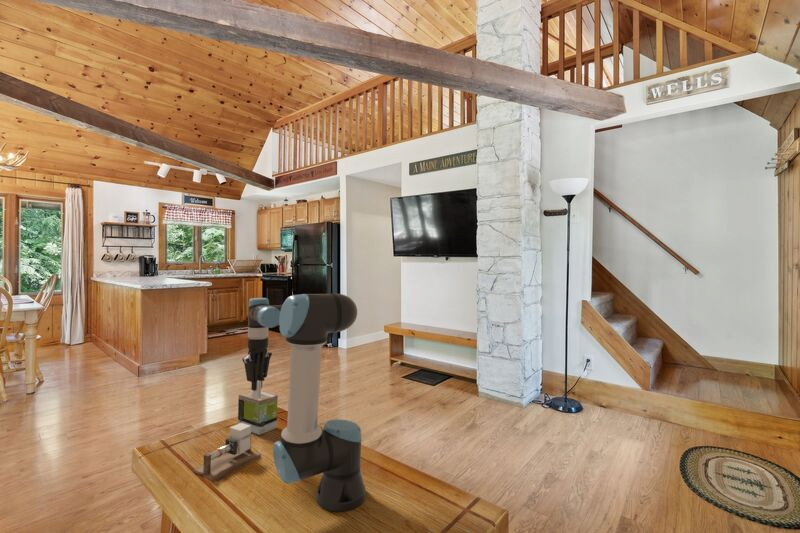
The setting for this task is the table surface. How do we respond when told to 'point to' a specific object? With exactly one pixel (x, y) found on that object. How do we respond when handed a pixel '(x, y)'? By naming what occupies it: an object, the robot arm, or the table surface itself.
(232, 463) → the board
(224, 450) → the pipe
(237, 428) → the sleeve
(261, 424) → the tea box
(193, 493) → the table surface
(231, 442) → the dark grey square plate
